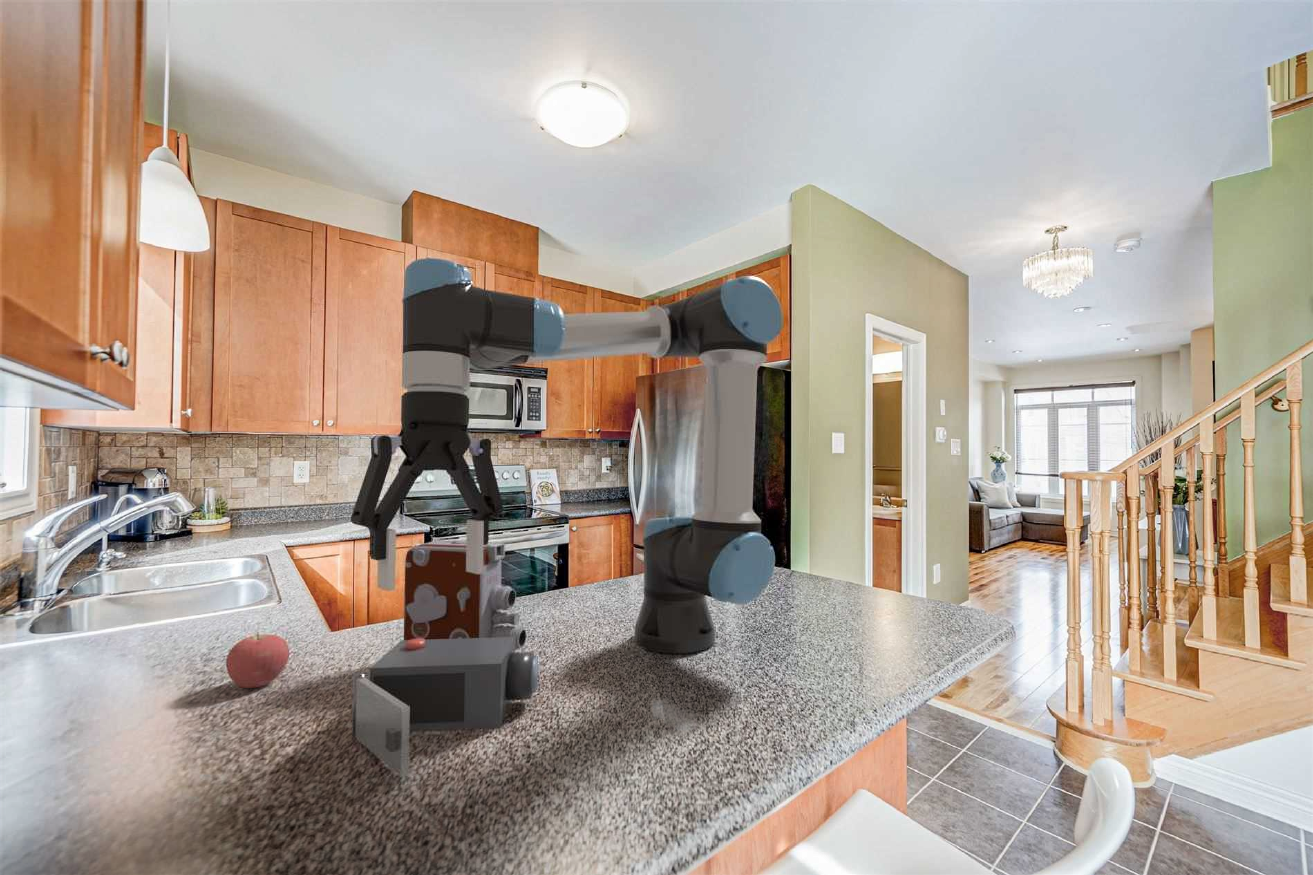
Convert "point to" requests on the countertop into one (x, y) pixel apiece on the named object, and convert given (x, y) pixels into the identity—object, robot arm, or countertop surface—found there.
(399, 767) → the side door
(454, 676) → the camera block
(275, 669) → the apple
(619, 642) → the countertop surface
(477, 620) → the cine camera
